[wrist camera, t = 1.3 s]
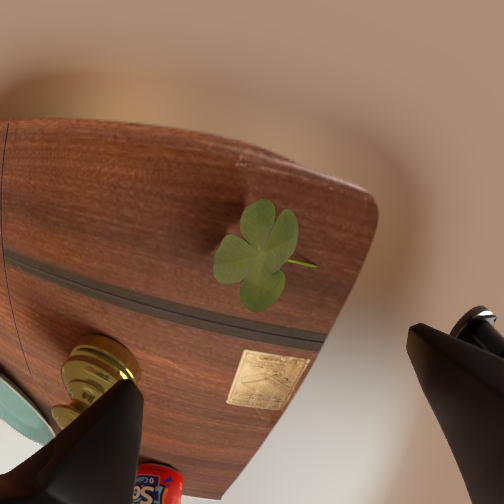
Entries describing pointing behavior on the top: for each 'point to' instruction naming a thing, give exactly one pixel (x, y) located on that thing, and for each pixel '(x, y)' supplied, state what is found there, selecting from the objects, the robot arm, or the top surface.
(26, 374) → the top surface
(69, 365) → the brass weight
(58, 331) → the top surface
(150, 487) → the soda can
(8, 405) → the plate
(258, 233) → the green clover leaf
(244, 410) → the top surface
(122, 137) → the top surface
